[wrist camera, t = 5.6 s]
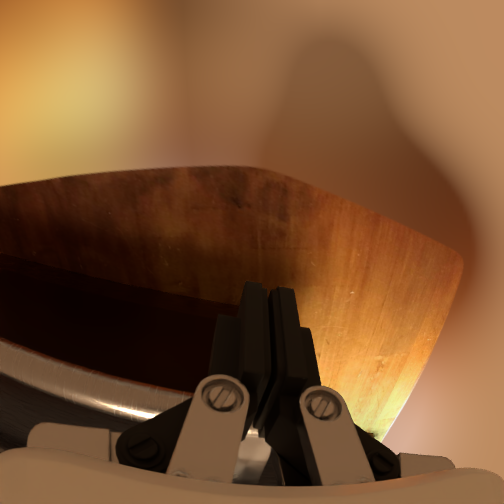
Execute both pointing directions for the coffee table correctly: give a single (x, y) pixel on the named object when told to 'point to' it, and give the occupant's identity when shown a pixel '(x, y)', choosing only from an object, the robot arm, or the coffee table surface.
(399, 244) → the coffee table surface
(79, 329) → the oven door
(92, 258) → the coffee table surface
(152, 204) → the coffee table surface
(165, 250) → the coffee table surface
